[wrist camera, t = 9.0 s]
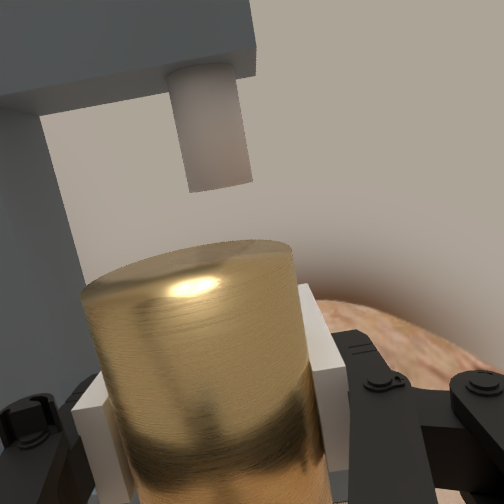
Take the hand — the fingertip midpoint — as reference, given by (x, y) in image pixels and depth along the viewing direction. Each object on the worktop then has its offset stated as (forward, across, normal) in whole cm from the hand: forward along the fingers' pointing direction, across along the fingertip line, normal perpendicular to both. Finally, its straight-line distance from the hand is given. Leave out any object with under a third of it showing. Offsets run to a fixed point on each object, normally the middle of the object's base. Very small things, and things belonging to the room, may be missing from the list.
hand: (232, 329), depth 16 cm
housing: (-5, 0, -6) cm, 8 cm away
